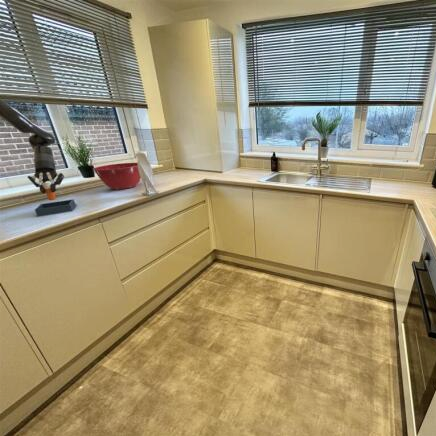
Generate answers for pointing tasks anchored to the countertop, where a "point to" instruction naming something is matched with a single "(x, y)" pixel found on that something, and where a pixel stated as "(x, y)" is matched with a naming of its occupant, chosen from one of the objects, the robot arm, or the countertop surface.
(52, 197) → the glue stick
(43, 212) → the tote
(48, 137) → the robot arm
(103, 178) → the mixing bowl
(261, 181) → the countertop surface
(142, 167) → the white statue
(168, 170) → the countertop surface
